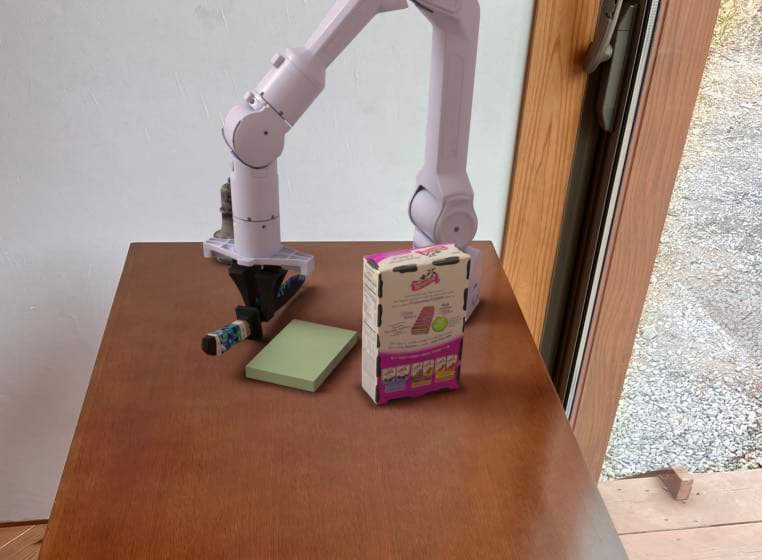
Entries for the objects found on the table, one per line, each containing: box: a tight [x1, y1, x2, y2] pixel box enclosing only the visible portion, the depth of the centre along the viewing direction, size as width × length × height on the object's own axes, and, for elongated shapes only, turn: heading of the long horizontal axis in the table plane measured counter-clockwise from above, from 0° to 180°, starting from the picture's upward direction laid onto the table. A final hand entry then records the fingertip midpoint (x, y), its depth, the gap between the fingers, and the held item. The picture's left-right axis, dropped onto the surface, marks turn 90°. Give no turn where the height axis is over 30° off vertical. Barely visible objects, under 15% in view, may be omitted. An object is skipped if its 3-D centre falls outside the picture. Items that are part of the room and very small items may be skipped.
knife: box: [200, 273, 306, 358], centre depth 116 cm, size 31×3×4 cm, turn 157°
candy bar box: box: [361, 242, 471, 406], centre depth 101 cm, size 11×5×16 cm, turn 114°
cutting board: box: [245, 318, 358, 393], centre depth 111 cm, size 9×14×2 cm, turn 159°
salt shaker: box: [212, 176, 234, 266], centre depth 131 cm, size 6×6×12 cm
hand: (261, 317), depth 116 cm, fingers closed on knife
